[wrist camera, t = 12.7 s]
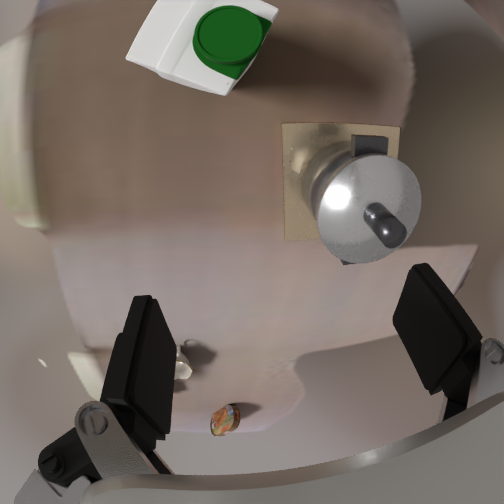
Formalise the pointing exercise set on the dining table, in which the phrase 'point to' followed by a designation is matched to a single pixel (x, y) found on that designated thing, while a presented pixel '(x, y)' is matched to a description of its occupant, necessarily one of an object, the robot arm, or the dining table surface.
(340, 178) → the lid
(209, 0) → the soya milk
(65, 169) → the dining table surface
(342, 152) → the pot
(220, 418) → the tin
